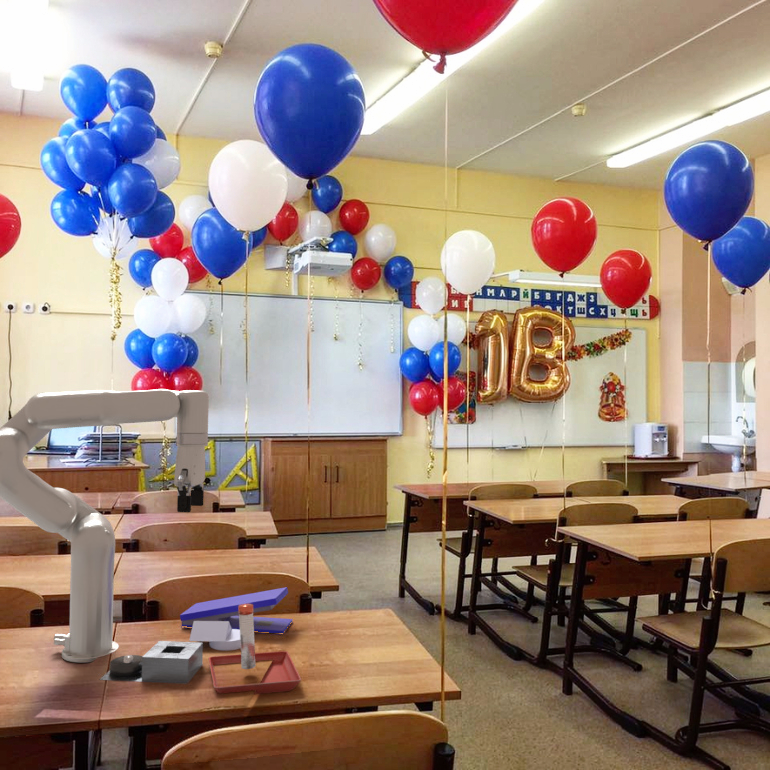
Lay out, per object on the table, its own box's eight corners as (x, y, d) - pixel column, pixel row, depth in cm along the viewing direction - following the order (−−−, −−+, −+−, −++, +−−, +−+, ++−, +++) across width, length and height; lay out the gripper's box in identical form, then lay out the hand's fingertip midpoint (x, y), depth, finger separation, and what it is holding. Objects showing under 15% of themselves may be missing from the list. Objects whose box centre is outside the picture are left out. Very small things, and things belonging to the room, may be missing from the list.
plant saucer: (287, 663, 172) (287, 649, 172) (301, 694, 155) (302, 679, 155) (207, 671, 167) (208, 656, 167) (213, 704, 149) (214, 687, 149)
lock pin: (239, 669, 159) (236, 608, 159) (242, 664, 162) (240, 603, 163) (254, 669, 159) (251, 607, 159) (257, 663, 162) (254, 603, 163)
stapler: (282, 636, 190) (283, 598, 190) (178, 629, 194) (179, 592, 194) (293, 622, 201) (294, 586, 202) (194, 616, 205) (195, 581, 205)
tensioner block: (99, 685, 156) (99, 655, 156) (120, 665, 167) (121, 638, 167) (187, 689, 155) (187, 659, 155) (202, 669, 166) (203, 641, 166)
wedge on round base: (188, 655, 175) (243, 655, 175) (189, 626, 175) (244, 627, 175) (197, 642, 184) (249, 642, 184) (197, 615, 184) (250, 615, 184)
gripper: (188, 437, 192) (187, 503, 192) (164, 442, 175) (163, 514, 175) (217, 438, 192) (215, 503, 192) (195, 442, 174) (194, 515, 174)
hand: (190, 508), depth 183 cm, fingers open, 9 cm apart
